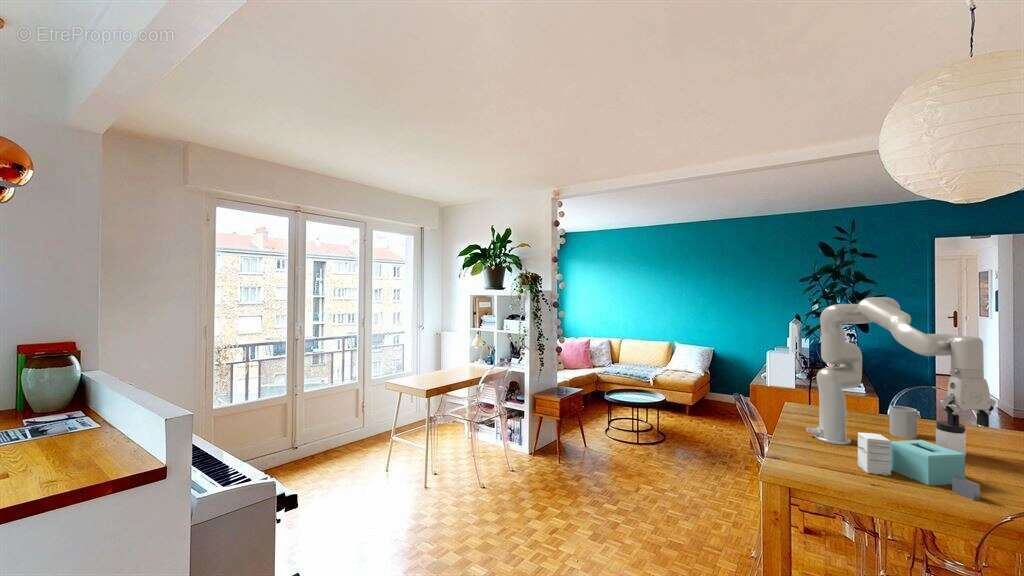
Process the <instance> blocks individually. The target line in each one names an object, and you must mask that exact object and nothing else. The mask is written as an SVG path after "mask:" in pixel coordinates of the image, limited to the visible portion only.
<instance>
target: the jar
mask: <svg viewBox="0 0 1024 576" xmlns="http://www.w3.org/2000/svg"><path fill="white" fill-rule="evenodd" d="M935 444H936V445H939V446H942V447H945V448H948V449H951V450H954V451H957V452H960V453H963V454H965V457H966V456H967V432H966V426H965V425H964V424H961V423H959V427H954V426H951V425H948V420H946V421H945V420H937V421H936V428H935Z"/></svg>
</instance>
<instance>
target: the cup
mask: <svg viewBox="0 0 1024 576" xmlns="http://www.w3.org/2000/svg"><path fill="white" fill-rule="evenodd" d="M889 434H891V436H895V437H897V438H898V437H899V438H903V439H917V438H918V410H917V409H916V408H913V407H908V406H902V405H890V406H889Z"/></svg>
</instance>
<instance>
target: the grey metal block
mask: <svg viewBox="0 0 1024 576" xmlns="http://www.w3.org/2000/svg"><path fill="white" fill-rule="evenodd" d="M980 486H981V484H980V483H978V482H974V481H973V480H970V479H967V478H965V479H964V478H962V477H959V476H952V484H951V490H952V493H954V494H956V495H959V496H962V497H964V498H967V499H969V500H971V501H980V500H981V496H980V495H981V490H980V489H981V487H980Z"/></svg>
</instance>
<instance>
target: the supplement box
mask: <svg viewBox="0 0 1024 576" xmlns="http://www.w3.org/2000/svg"><path fill="white" fill-rule="evenodd" d="M891 441H892V440H891V439H889V438H887V437H885V436H884V435H882V434H880V433H872V432H871V433H870V432H859V431H858V432H857V466H858V467H860V468H861V469H862V470H863V471H864V472H865V473H867V474H869V473H873V474H872V475H878V474H883V475H882V476H888V475H891V476H892V470H891Z"/></svg>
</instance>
